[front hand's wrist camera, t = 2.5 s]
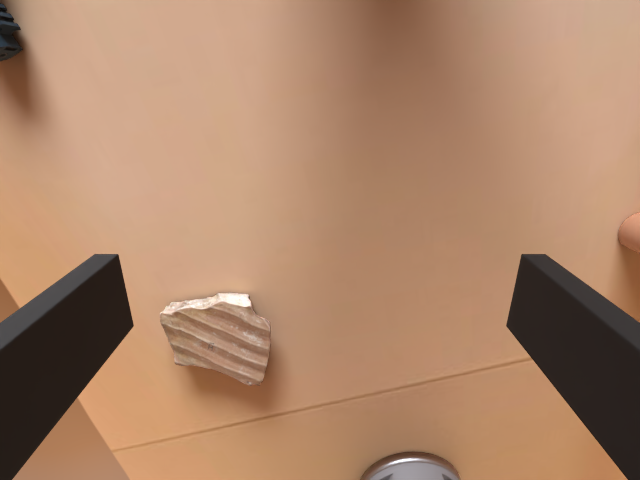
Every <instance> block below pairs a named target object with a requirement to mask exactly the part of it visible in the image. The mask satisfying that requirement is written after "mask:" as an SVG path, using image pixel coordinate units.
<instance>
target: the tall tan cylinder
mask: <svg viewBox="0 0 640 480" xmlns="http://www.w3.org/2000/svg"><path fill="white" fill-rule="evenodd" d="M618 238H619V241H620V243H621V244H622V245H623V246H625V247H627V248H629V249H631V250H633V251H635V252H637V253H639V254H640V212H639V213H636V214H633V215H631V216H630V217H628V218H627V219H626V220H625V221H624V222H623V223H622V225H621V227H620V229H619V232H618Z"/></svg>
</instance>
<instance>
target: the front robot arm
mask: <svg viewBox="0 0 640 480" xmlns="http://www.w3.org/2000/svg"><path fill="white" fill-rule="evenodd" d="M133 326H134V325H133V320H132V316H131V311H130V306H129V302H128V297H127V293H126V288H125V283H124V279H123V274H122V269H121V265H120V260H119V255H118V254H94V255H93V256H92V257H90V258H89V259H88V260H86V261H85V262H83V263H82V264H81V265H79V266H78V267H77V268H75V269H74V270H72V271H71V272H70V273H68V274H67V275H66V276H64V277H63V278H61V279H60V280H59V281H57V282H56V283H55V284H53V285H52V286H50V287H49V288H48V289H46V290H45V291H43V292H42V293H41V294H39V295H38V296H37V297H35V298H34V299H32V300H31V301H30V302H28V303H27V304H26V305H24V306H23V307H21V308H20V309H19V310H17V311H16V312H15V313H13V314H12V315H10V316H9V317H8V318H6V319H5V320H4V321H2V322H1V323H0V480H12V479H13V478H14V477H15V475H16V474H17V473H18V471H19V470H20V469H21V468H22V466H23V465H24V464H25V463H26V461H27V460H28V459H29V458H30V456H31V455H32V454H33V452H34V451H35V450H36V449H37V447H38V446H39V445H40V444H41V442H42V441H43V440H44V439H45V437H46V436H47V435H48V434H49V432H50V431H51V430H52V428H53V427H54V426H55V425H56V423H57V422H58V421H59V420H60V418H61V417H62V416H63V415H64V413H65V412H66V411H67V409H68V408H69V407H70V406H71V405H72V403H73V402H74V401H75V399H76V398H77V397H78V396H79V394H80V393H81V392H82V391H83V389H84V388H85V387H86V386H87V384H88V383H89V382H90V381H91V379H92V378H93V377H94V375H95V374H96V373H97V372H98V370H99V369H100V368H101V367H102V365H103V364H104V363H105V362H106V360H107V359H108V358H109V356H110V355H111V354H112V353H113V351H114V350H115V349H116V348H117V346H118V345H119V344H120V343H121V341H122V340H123V339H124V338H125V336H126V335H127V334H128V332H129V331H130V330H131V329H132V327H133ZM506 326H507V327H508V329H509V330H510V331H511V332H512V334H513V335H514V336H515V338H516V339H517V340H518V341H519V343H520V344H521V345H522V346H523V348H524V349H525V350H526V351H527V353H528V354H529V355H530V356H531V358H532V359H533V360H534V362H535V363H536V364H537V365H538V367H539V368H540V369H541V370H542V372H543V373H544V374H545V375H546V377H547V378H548V379H549V381H550V382H551V383H552V384H553V386H554V387H555V388H556V389H557V391H558V392H559V393H560V394H561V396H562V397H563V398H564V399H565V401H566V402H567V403H568V405H569V406H570V407H571V408H572V410H573V411H574V412H575V413H576V415H577V416H578V417H579V418H580V420H581V421H582V422H583V423H584V425H585V426H586V427H587V429H588V430H589V431H590V432H591V434H592V435H593V436H594V437H595V439H596V440H597V441H598V442H599V444H600V445H601V446H602V447H603V449H604V450H605V451H606V453H607V454H608V455H609V456H610V458H611V459H612V460H613V461H614V463H615V464H616V465H617V466H618V468H619V469H620V470H621V471H622V473H623V474H624V475H625V477H626V478H627V479H628V480H640V323H639V322H638V321H636V320H635V319H634V318H632V317H631V316H630V315H628V314H627V313H625V312H624V311H623V310H621V309H620V308H619V307H617V306H616V305H614V304H613V303H612V302H610V301H609V300H608V299H606V298H605V297H603V296H602V295H601V294H599V293H598V292H596V291H595V290H594V289H592V288H591V287H590V286H588V285H587V284H585V283H584V282H583V281H581V280H580V279H579V278H577V277H576V276H574V275H573V274H572V273H570V272H569V271H568V270H566V269H565V268H563V267H562V266H561V265H559V264H558V263H557V262H555V261H554V260H552V259H551V258H550V257H548V256H547V255H546V254H522V255H521V260H520V265H519V269H518V274H517V279H516V283H515V288H514V293H513V297H512V302H511V306H510V311H509V316H508V320H507V325H506ZM361 480H460V477H459V474H458V472H457V471H456V469H455V468H454V467H453V466H452V465H451V464H450V463H449V462H447V461H446V460H444V459H443V458H441V457H438V456H436V455H432V454H429V453H422V452H405V453H399V454H394V455H391V456H388V457H386V458H383V459H381V460H379V461H378V462H376V463H375V464H373V465H372V466H371V467H369V468H368V469H367V470H366V472H365V473H364V474H363V476H362V477H361Z"/></svg>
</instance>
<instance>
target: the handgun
mask: <svg viewBox="0 0 640 480" xmlns="http://www.w3.org/2000/svg"><path fill="white" fill-rule="evenodd" d="M6 11H7V9H6V7H5V6H4V5H3V4H0V61H3V60H7V59H9V58H11V57H13V56H14V55H16V54H17V53H19V52H20V51H21V50H23V49H22V48H21V46H20V45H19V44H18V42H17V41H16V40H15V38H14V37H13V36H12V33H13V32H14V31H17V30H21V29H20V27H19V25H18V24H16V23H14V22H13V20H14V18H13V17H12V16H11V14H8V13H7V12H6Z"/></svg>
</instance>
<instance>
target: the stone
mask: <svg viewBox="0 0 640 480" xmlns="http://www.w3.org/2000/svg"><path fill="white" fill-rule="evenodd" d="M160 321H161V325H162V326H163V328H164V331H165V333H166V336H167V338H168V341H169V343H170V345H171V347H172V349H173V350H174V358H175V364H176V365H181V366H188V365H193V366H199V367H203V368H209V369H213V370H216V371H218V372H221V373H224V374H226V375H229V376H231V377H233V378H235V379H237V380H238V381H240V382H242V383H245V384H247V385H250V386H251V385H253V384H255V385H259V386H260V383H261V382H263V378H264V374H265V370H266V368H267V363H268V357H269V351H270V345H271V339H270V321H268V320H267V319H264V318H261V317H260V316H258V315H257V314H256V313H255V312H254V311H253V307H252V303H251V301H250V297H249V295H248V294H238V293H217V294H216V295H215V296H213V297H207V298H205V299H195V300H185V301H182V302H171V303H170V305H169V306H166V307H165V310H164V311H162V312H161V313H160Z"/></svg>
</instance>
